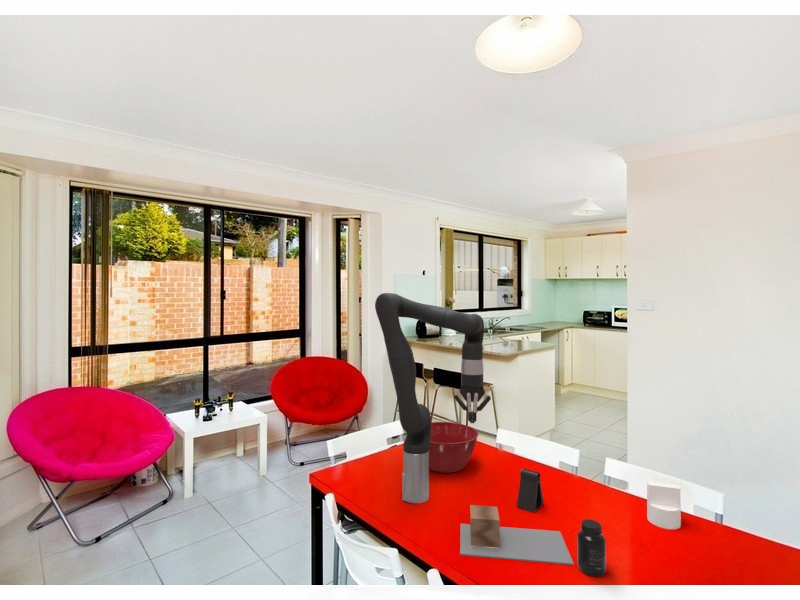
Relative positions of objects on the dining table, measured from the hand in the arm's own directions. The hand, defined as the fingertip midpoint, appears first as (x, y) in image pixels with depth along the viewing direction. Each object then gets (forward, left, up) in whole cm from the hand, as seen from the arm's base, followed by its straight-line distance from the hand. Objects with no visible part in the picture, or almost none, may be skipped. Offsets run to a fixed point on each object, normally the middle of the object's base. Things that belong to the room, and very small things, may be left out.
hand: (472, 422), depth 143 cm
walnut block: (+3, -20, -29) cm, 35 cm away
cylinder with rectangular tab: (+60, -1, -29) cm, 67 cm away
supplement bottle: (+30, -29, -29) cm, 51 cm away
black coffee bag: (+20, +4, -29) cm, 36 cm away
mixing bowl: (-11, +34, -29) cm, 46 cm away
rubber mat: (+11, -20, -29) cm, 37 cm away
